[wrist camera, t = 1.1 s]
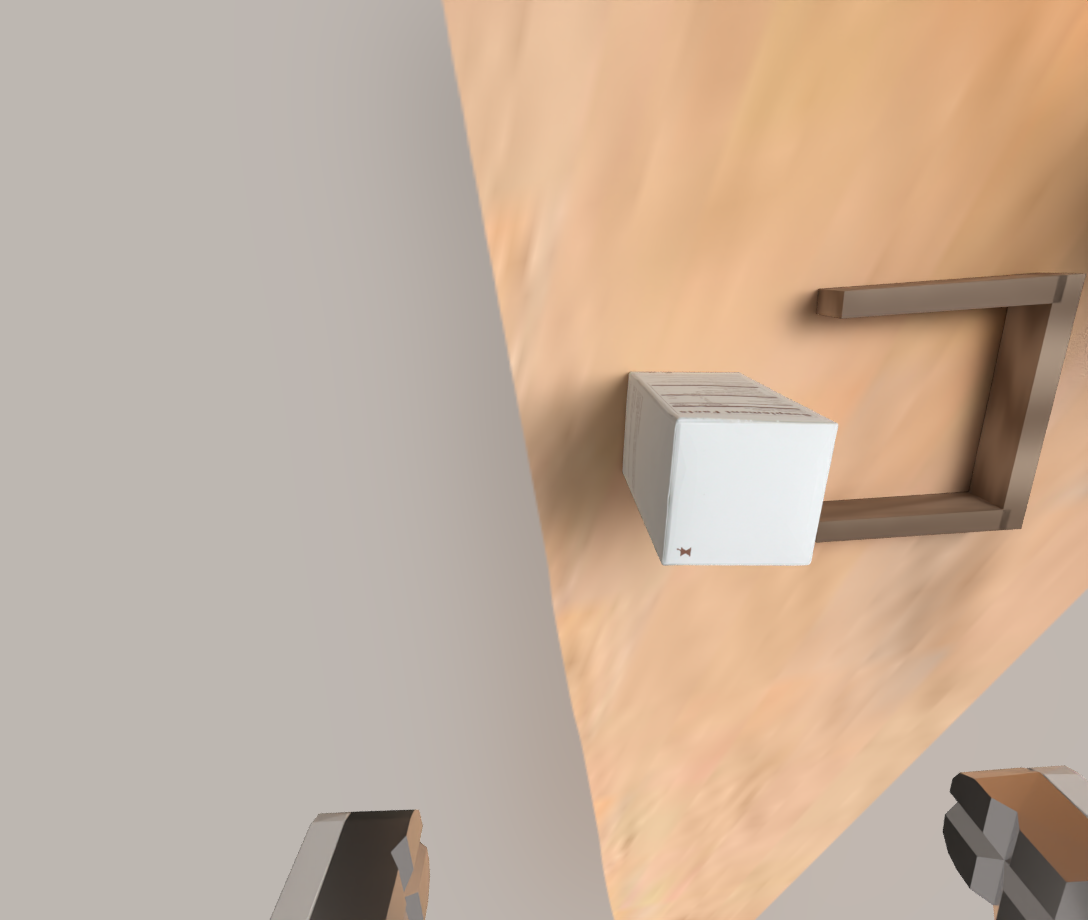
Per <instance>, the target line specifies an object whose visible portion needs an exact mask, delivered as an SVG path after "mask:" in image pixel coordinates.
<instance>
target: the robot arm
mask: <svg viewBox="0 0 1088 920" xmlns="http://www.w3.org/2000/svg"><path fill="white" fill-rule="evenodd" d="M950 793H951V794H952V795H953V797H954V798H955V799H956V801H957V803H956V804H955V805H954V806H953V807H952V808H951V809H950V810H949V811H948V812H947V813H946V814H945V819H944V826H943V835H944V839H945V843H946V846H947V850H948V853H949V855H950V857H951V859H952V861H953V863H954V865H955V867H956V869H957V871H958V872H959V874H960V875H961V877H962V878H963V879H964V881H965V882H966V884H967V885H968V886H969V888H970V889H971V890H972V891H974V892H975V893H977V894H978V895H979V896H981V897H982V898H984V899H985V900H987V901H988V902H989V903H991V904H992V905H993V907H994V918H995V920H1088V781H1087V780H1086V779H1085V778H1084V777H1083V776H1081V775H1080V774H1079V773H1077V772H1076V771H1074V770H1072V769H1070V768H1068V767H1066V766H1051V767H1035V768H1011V769H1000V770H999V769H998V770H986V771H973V772H961V773H959V774H958V775H956V776H955V777H954V778H953V779H952V784H951V788H950ZM422 827H423V825H422V821H421V816H420V812H419V810H390V811H360V812H341V813H322V814H318V816H317V817H316V818H315V820H314V821H313V822H312V823H311V825H310V827H309V829H308V831H307V834H306V836H305V838H304V841H303V843H302V845H301V848H300V850H299V852H298V855H297V857H296V859H295V862H294V864H293V867H292V869H291V872H290V874H289V876H288V878H287V881H286V883H285V886H284V888H283V890H282V893H281V895H280V897H279V899H278V902H277V904H276V906H275V909H274V912H273V914H272V916H271V918H270V920H425V916H426V909H427V904H428V896H429V881H430V869H429V857H428V852H427V847H426V846H424V845H423V844H422V843H421V842H420V837H421V832H422Z"/></svg>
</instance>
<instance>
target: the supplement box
mask: <svg viewBox="0 0 1088 920" xmlns="http://www.w3.org/2000/svg"><path fill="white" fill-rule="evenodd" d="M837 429H838V424H837V423H836V422H833V421H832V420H830V419H828V418H826V417H824V416H822V415H820V414H818V413H816V412H814V411H812V410H810V409H808V408H806V407H804V406H802V405H800V404H798V403H796V402H794V401H792V400H791V399H788V398H786V397H784V396H783V395H781V394H779V393H777V392H775V391H773V390H771V389H770V388H768V387H766V386H764V385H762V384H760V383H758V382H756V381H754V380H752V379H751V378H749V377H747V376H745V375H743V374H741V373H739V372H630V373H629V380H628V391H627V404H626V420H625V436H624V453H623V470H622V473H623V474H624V477H625V479H626V482H627V484H628V486H629V489H630V491H631V493H632V496H633V498H634V500H635V502H636V505H637V507H638V510H639V512H640V514H641V517H642V519H643V521H644V524H645V526H646V528H647V531H648V533H649V535H650V538H651V540H652V542H653V545H654V547H655V550H656V552H657V554H658V556H659V559H660V561H661V563H662V565H780V566H781V565H787V566H791V565H809V564H810V563H811V560H812V554H813V549H814V544H815V539H816V533H817V529H818V524H819V519H820V514H821V509H822V504H823V498H824V493H825V488H826V483H827V478H828V473H829V468H830V463H831V459H832V454H833V449H834V444H835V438H836V434H837Z"/></svg>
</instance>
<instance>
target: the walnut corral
mask: <svg viewBox="0 0 1088 920" xmlns="http://www.w3.org/2000/svg"><path fill="white" fill-rule="evenodd" d="M1085 276H1086V274H1077V273H1031V274H1017V275H1003V276H990V277H976V278H962V279H948V280H935V281H921V282H907V283H893V284H880V285H866V286H852V287H838V288H825V289H819V291H818V302H817V312H816V314H819V315H825V316H831V317H836V318H855V317H869V316H883V315H897V314H910V313H924V312H938V311H952V310H966V309H980V308H994V307H1008V310H1007V315H1006V319H1005V324H1004V329H1003V334H1002V338H1001V343H1000V348H999V352H998V357H997V362H996V367H995V371H994V376H993V381H992V385H991V390H990V395H989V399H988V404H987V409H986V414H985V418H984V423H983V428H982V432H981V437H980V442H979V446H978V451H977V456H976V461H975V465H974V470H973V475H972V479H971V484H970V489H969V492H956V493H942V494H927V495H912V496H897V497H883V498H868V499H853V500H838V501H823V504H822V509H821V514H820V519H819V524H818V529H817V533H816V539H815V542H831V541H846V540H861V539H876V538H891V537H906V536H921V535H936V534H951V533H966V532H981V531H996V530H1011V529H1021V528H1022V524H1023V520H1024V516H1025V512H1026V508H1027V504H1028V500H1029V496H1030V492H1031V488H1032V484H1033V480H1034V476H1035V473H1036V469H1037V465H1038V461H1039V457H1040V453H1041V449H1042V445H1043V441H1044V437H1045V433H1046V429H1047V425H1048V421H1049V417H1050V414H1051V410H1052V406H1053V402H1054V398H1055V394H1056V390H1057V386H1058V382H1059V378H1060V374H1061V370H1062V366H1063V362H1064V359H1065V355H1066V351H1067V347H1068V343H1069V339H1070V335H1071V331H1072V327H1073V323H1074V319H1075V315H1076V311H1077V307H1078V303H1079V300H1080V296H1081V292H1082V288H1083V284H1084V280H1085Z"/></svg>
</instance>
